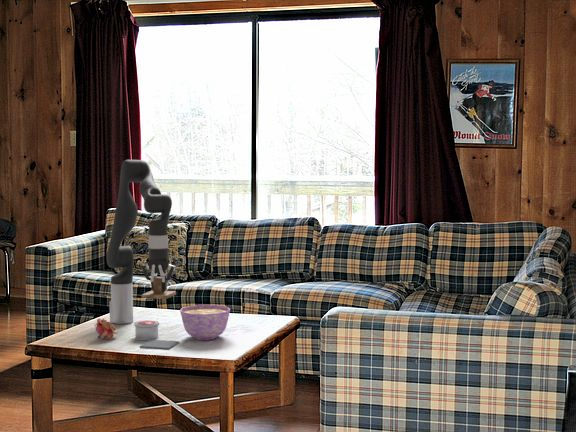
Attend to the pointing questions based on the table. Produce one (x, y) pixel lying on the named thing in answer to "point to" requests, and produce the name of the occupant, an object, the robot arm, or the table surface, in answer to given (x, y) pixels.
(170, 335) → the table surface
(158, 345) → the mat
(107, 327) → the flower
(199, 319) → the bowl of food
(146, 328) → the jam crock
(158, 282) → the lid
